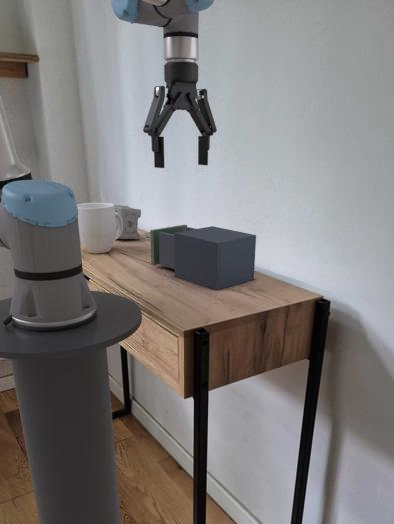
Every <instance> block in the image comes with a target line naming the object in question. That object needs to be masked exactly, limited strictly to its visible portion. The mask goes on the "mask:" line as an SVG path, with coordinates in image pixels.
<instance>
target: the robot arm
mask: <svg viewBox="0 0 394 524" xmlns="http://www.w3.org/2000/svg"><path fill="white" fill-rule="evenodd" d="M110 2H111V9H112V11H113V13H114V15H115V16H116V18H117V19H119V20H120V21H123V22H127V23H130V24H132V25H133V24H138V25H145V26H151V27H152V26H153V27H158V28H162V30H163V31H162V34H163V36H162V37H163V60H164V61H166V62H165V63H164V65H163V76H164V77H163V79H164V82H165V84H166V85H155V86H154V88H153V98H152V101H151V104H150V106H149V110H148V113H147V116H146V119H145V122H144V126H143V128H142V131H143V133H145V134H147V135H148V136H149V137H150V138H151V152H152V153H153V161H154V162H153V163H154V168H155V169H156V168H157V169H165V136H161V135H162V133H163V131H164V130H165V128H166V127H167V125H168V123H169V121H170V119H171V118H172V116H173V114H174V112H176V111H186V112H187V113H189V116H190V117H191V119H192V121H193V123H194V125H195V127H196V128H197V130H198V132H199V134H201V135H198V136H197V142H198V143H197V165H198V166H209V151H210V147H211V136H212V137H213V136H214V133H217V130H218V129H217V126H216V122H215V119H214V116H213V113H212V110H211V105H210V104H209V97H208V96H209V95H208V90H207V88H198V89H197V84H198V82H199V65H198V63H197V62H198V61H199V23H200V22H199V21H200V19H199V18H200V17H199V16H200V12H202V11H205V10H208V9H209V8H211V6H212V5H213V4H214V2H215V0H110ZM165 99H166V100H165ZM77 205H78V204H77V200H76V195H75V193H74V191H73V189H71V188H70V187H69V186H68V185H66V184H63V183H61V182H57V181H46V180H41V179H33V176H32V172H31V169H30V168H29V167H27V166H26V165H25V164H23V163H22V162H21V161H20V160H19V156H18V154H17V149H16V147H15V142H14V139H13V136H12V132H11V129H10V124H9V122H8V118H7V114H6V110H5V107H4V103H3V99H2V96H1V94H0V247H1V248H5V249H7V250H9V251H10V254H11V260H12V268H13V272H14V285H13V291H12V295H11V296H12V297H11V298H12V301H11V307H10V316H9V317H7V318H6V319H5V320H4V321H3V322H2V323H3V324H4V325H5V326H7V325H8V324H9V323H10V322H11V323H12V324H13V325H14V326H15V327H17V328H19V329H22V330H26V331H32V332H56V331H63V330H69V329H73V328H77V327H80V326H83V325H85V324H87V323H89V322H91V321H92V320H93V319H94V318H95V317H96V316H97V308H96V303H95V300H94V298H93V295H92V293H91V291H92V290H91V288H90V286H89V284H88V282H87V280H86V277H85V275H84V268H83V258H82V247H81V240H80V235H79V224H78V208H77Z"/></svg>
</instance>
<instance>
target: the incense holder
mask: <svg viewBox="0 0 394 524" xmlns="http://www.w3.org/2000/svg"><path fill="white" fill-rule="evenodd" d="M114 207H115V212H117V213H118V214H119V215H120V216H121V218H122V220H123V230H122V233H121V235H120V237H119V238H118V239H119V240H140V237H141V236H140V234H139V232H138V227H139V219H140V218H141V216H142V210H141V208H133V207H131V206H129V205H121V204H114ZM115 220H116V228H115V229H116V231H115V235H116V234H117V231H118V227H119V223H118V218H117V217H116V216H115Z"/></svg>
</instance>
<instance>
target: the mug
mask: <svg viewBox="0 0 394 524" xmlns="http://www.w3.org/2000/svg"><path fill="white" fill-rule="evenodd" d="M114 205H115V204H114V203H111V202H84V203H78V204H77V208H78V224H79V235H80V244H81V245H82V246H83V248H84V250H85V251H86V252H87V253H88V254H89V253H90V254H96V255H97V254H105V253H109V252H110V251H111V250H112V248H113V245H114V242H115V241H116V240H118V239H119V237H120V235H121V233H122V230H123V220H122V218H121V216H120V215H119V214H118V213H117V212H115V207H114ZM115 216H116V217H117V218H118V223H119V227H118V231H117V234H116V235H115V231H116V229H115V228H116V220H115Z"/></svg>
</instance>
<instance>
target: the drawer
mask: <svg viewBox="0 0 394 524" xmlns="http://www.w3.org/2000/svg"><path fill="white" fill-rule="evenodd" d="M193 229H196V227H195V228H194V227H190V226H188V224H179V225H173V226H167V227H161V228H155V229H149V231H147V232H143V237H144V238H145V239H150V261H151V262H150V263H151V264H150V265H152V266H157V265H159V266H163V267H165V268H169V269H172V270H175V261H174V233H176V232H182V231H188V230H193Z"/></svg>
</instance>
